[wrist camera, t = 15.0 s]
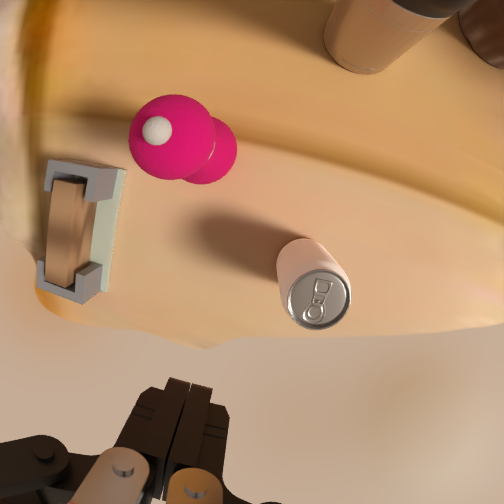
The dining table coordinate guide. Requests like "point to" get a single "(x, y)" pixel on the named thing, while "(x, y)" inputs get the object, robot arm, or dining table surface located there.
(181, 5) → the dining table surface
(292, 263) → the can
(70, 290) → the holder
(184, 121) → the pepper mill
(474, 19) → the plant pot
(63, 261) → the slat
